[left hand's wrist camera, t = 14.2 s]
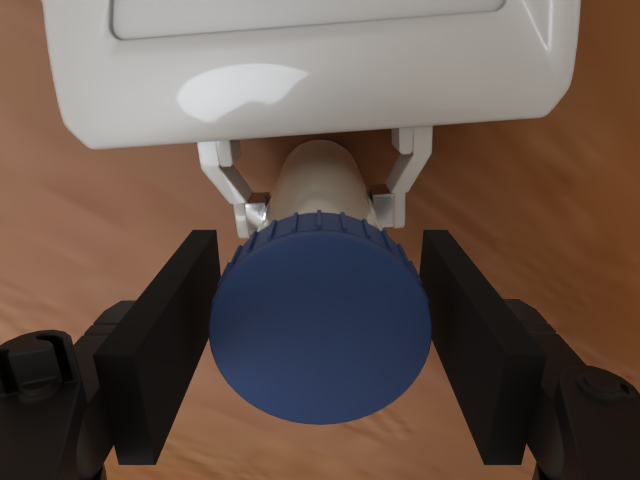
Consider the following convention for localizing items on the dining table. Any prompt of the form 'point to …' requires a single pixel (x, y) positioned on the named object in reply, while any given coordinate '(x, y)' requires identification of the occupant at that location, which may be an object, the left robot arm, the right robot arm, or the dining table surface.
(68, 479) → the left robot arm
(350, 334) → the lid
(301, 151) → the jar
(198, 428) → the dining table surface
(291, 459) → the dining table surface
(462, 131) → the dining table surface
